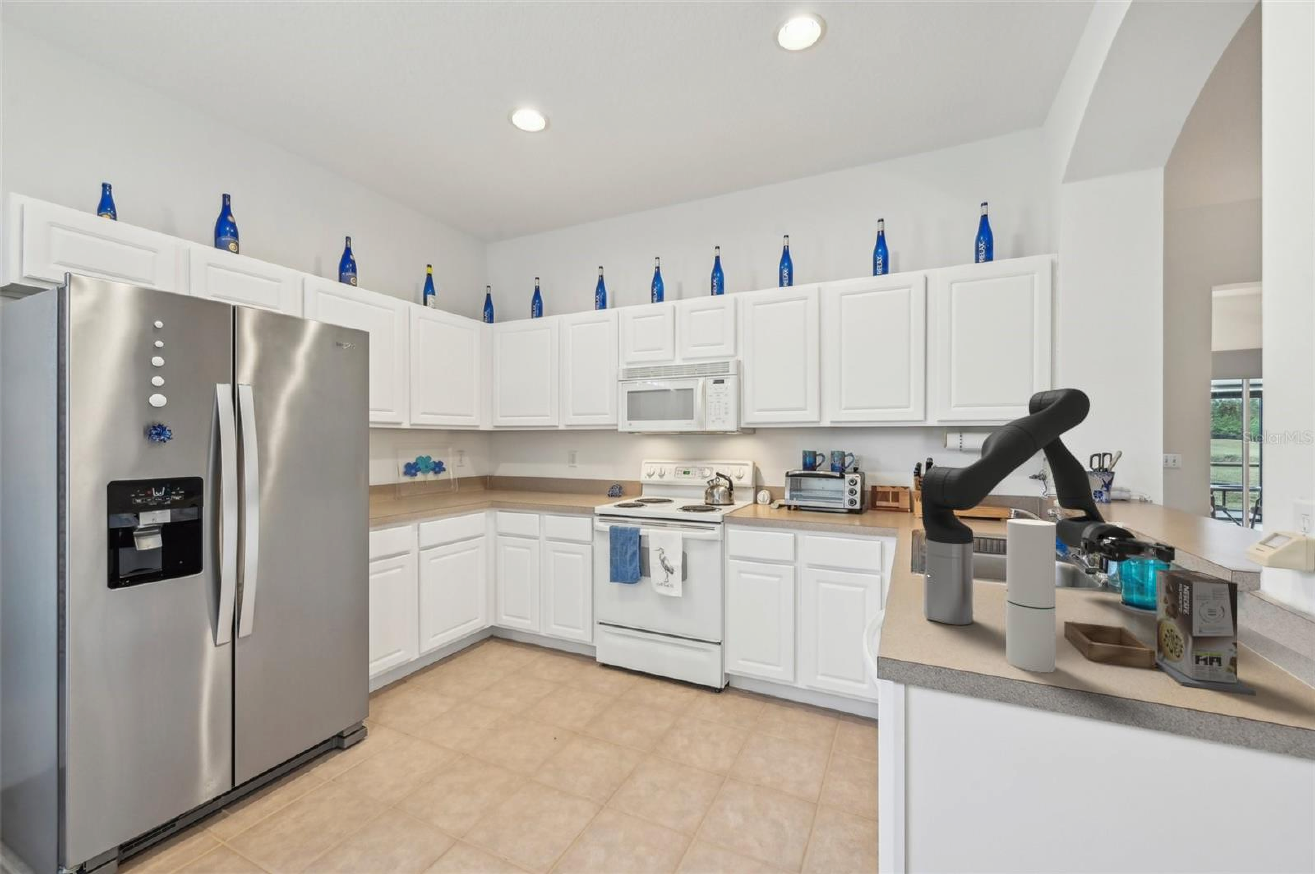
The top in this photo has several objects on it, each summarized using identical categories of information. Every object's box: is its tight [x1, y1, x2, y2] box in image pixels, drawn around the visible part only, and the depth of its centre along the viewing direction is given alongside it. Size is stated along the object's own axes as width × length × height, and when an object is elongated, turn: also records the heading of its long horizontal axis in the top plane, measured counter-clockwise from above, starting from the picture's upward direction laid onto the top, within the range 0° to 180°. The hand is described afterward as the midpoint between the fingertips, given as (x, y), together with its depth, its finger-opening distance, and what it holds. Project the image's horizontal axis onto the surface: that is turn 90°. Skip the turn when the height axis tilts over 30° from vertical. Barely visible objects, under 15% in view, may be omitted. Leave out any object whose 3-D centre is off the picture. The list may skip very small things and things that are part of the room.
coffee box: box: [1156, 569, 1239, 684], centre depth 93 cm, size 9×6×16 cm
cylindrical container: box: [1005, 518, 1057, 673], centre depth 97 cm, size 7×7×25 cm
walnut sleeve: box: [1063, 620, 1157, 669], centre depth 102 cm, size 10×13×3 cm
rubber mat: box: [1155, 654, 1256, 696], centre depth 92 cm, size 9×12×1 cm
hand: (1141, 554), depth 107 cm, fingers open, 8 cm apart
